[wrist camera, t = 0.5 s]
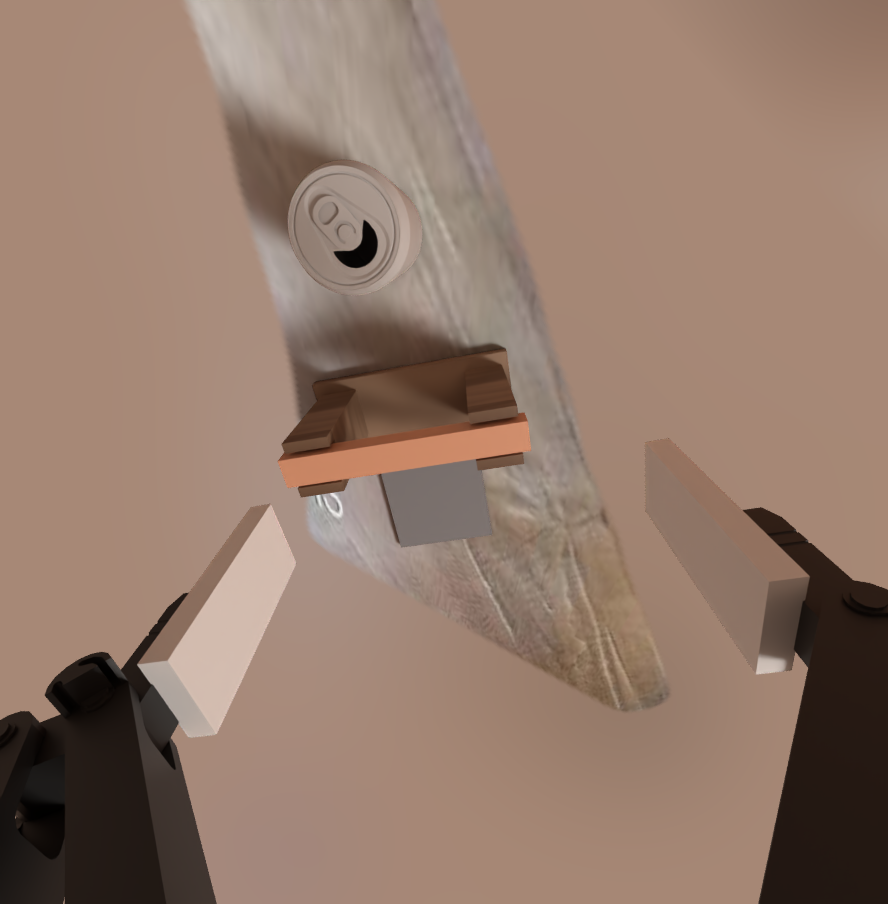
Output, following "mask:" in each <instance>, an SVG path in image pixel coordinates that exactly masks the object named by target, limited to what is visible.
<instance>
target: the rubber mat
mask: <svg viewBox="0 0 888 904" xmlns="http://www.w3.org/2000/svg"><path fill="white" fill-rule="evenodd" d="M381 476H382V479H383V483H384V487H385V490H386V494H387V498H388V501H389V505H390V509H391V512H392V516H393V520H394V523H395V527H396V531H397V534H398V538H399V542H400V545H401V547H408V546H416V545H423V544H430V543H437V542H445V541H452V540H459V539H466V538H474V537H481V536H488V535H492V530H491V524H490V518H489V512H488V506H487V500H486V494H485V488H484V482H483V476H482V470H479V471H478V469H477V463H476V459H473V460H466V461H460V462H453V463H447V464H440V465H434V466H427V467H421V468H414V469H408V470H401V471H395V472H388V473H382V474H381Z"/></svg>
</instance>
